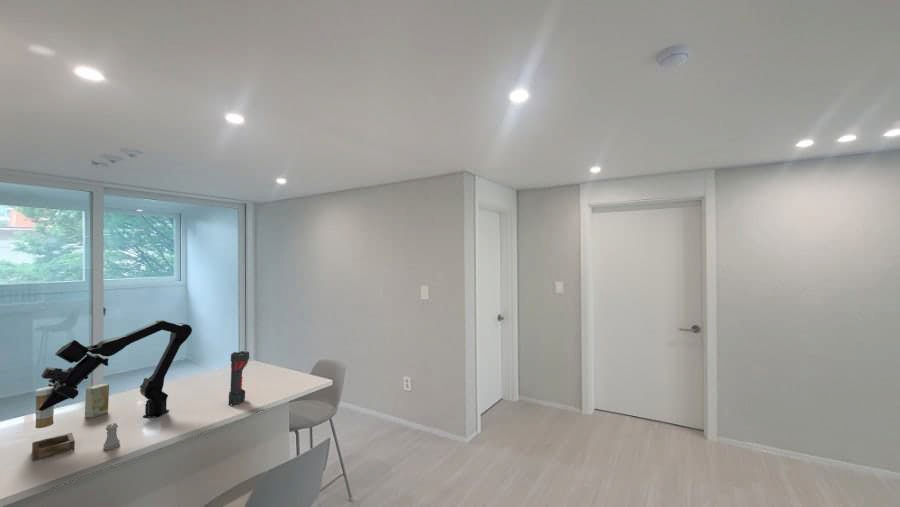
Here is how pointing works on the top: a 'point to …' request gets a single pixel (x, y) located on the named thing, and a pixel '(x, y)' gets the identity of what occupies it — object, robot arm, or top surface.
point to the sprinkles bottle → (46, 415)
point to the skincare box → (96, 400)
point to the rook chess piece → (111, 437)
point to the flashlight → (237, 376)
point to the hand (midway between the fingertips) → (39, 408)
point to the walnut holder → (53, 446)
